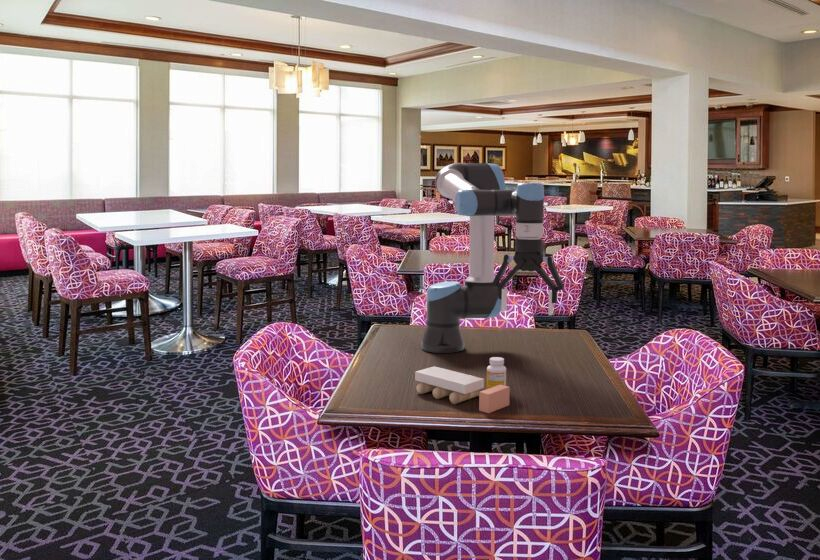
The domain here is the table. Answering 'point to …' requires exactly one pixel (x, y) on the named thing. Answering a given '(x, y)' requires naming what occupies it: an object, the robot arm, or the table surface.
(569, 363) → the table surface
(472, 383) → the slab
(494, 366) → the supplement bottle
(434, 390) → the roller bed
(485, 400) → the block
